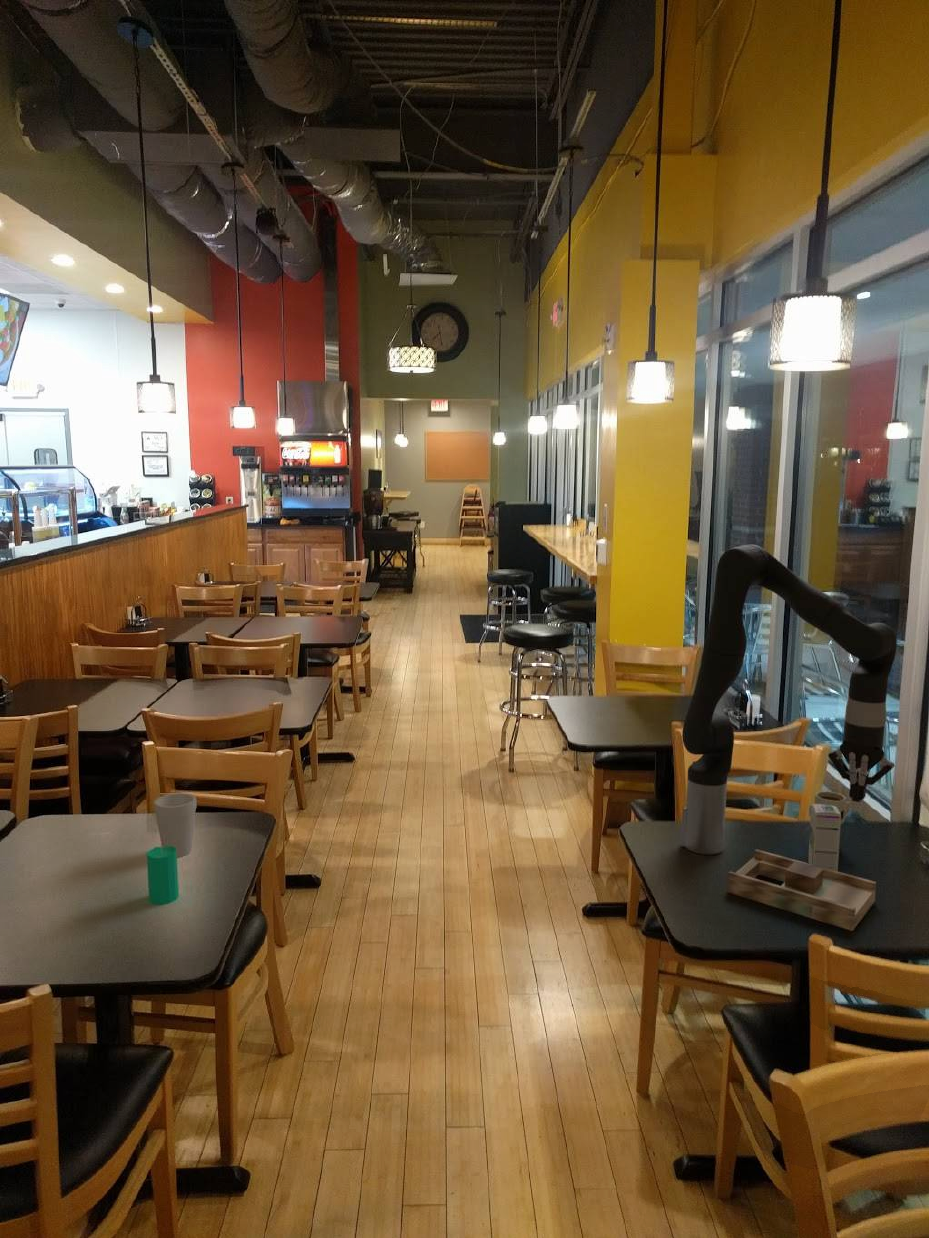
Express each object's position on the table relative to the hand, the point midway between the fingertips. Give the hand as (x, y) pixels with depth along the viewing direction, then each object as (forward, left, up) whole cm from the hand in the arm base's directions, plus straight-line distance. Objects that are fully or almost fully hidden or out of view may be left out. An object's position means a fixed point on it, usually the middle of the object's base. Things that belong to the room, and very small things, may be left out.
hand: (856, 800), depth 184 cm
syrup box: (-10, +14, -23) cm, 29 cm away
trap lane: (-9, -4, -23) cm, 25 cm away
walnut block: (-8, -4, -20) cm, 22 cm away
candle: (-113, -92, -23) cm, 147 cm away
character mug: (-13, +27, -23) cm, 38 cm away
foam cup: (-131, -77, -23) cm, 153 cm away
